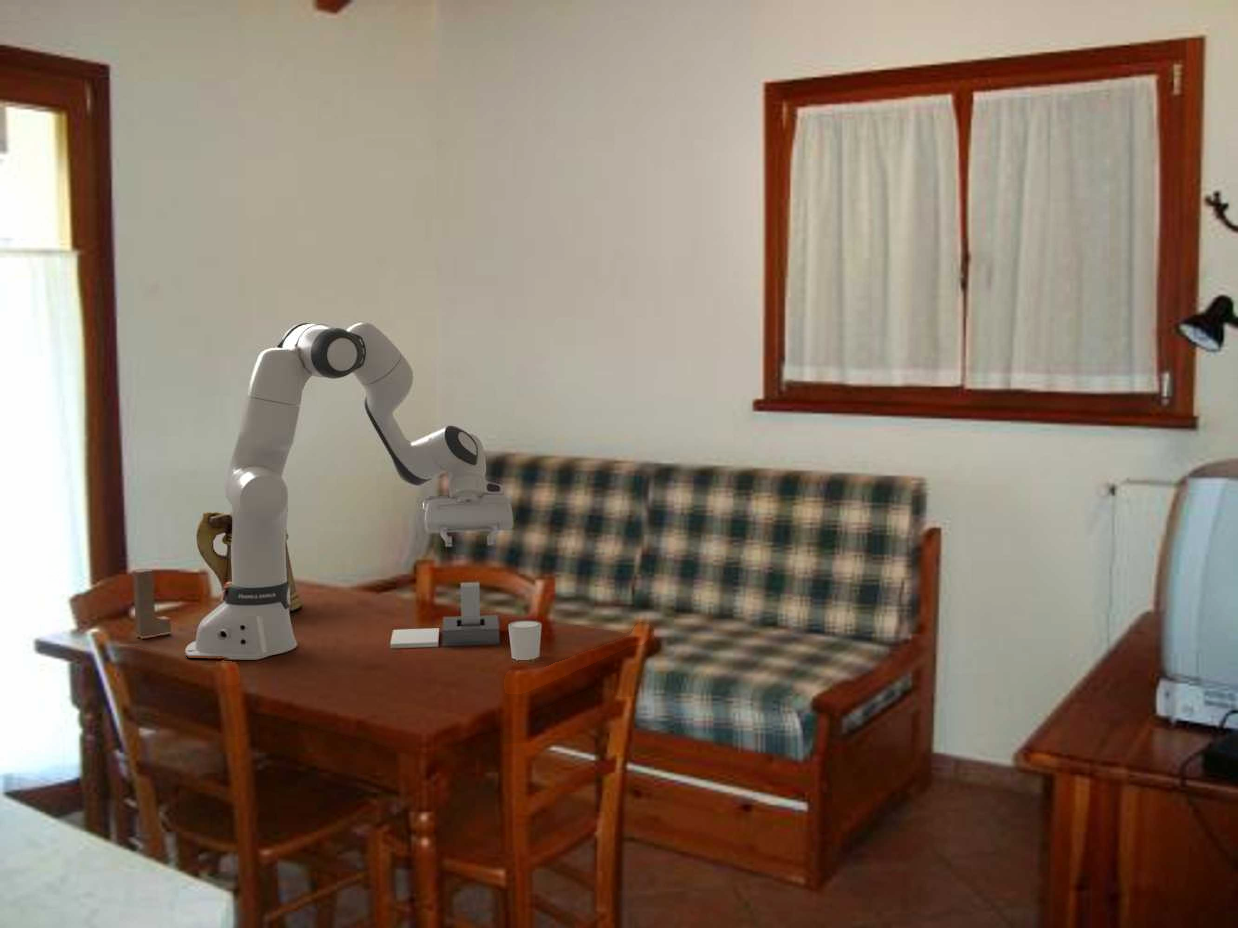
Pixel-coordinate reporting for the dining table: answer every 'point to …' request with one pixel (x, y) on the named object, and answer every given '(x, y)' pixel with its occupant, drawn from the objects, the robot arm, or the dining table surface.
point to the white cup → (525, 639)
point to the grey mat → (415, 638)
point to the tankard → (221, 564)
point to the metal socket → (471, 632)
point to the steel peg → (470, 604)
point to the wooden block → (147, 605)
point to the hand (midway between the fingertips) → (469, 544)
